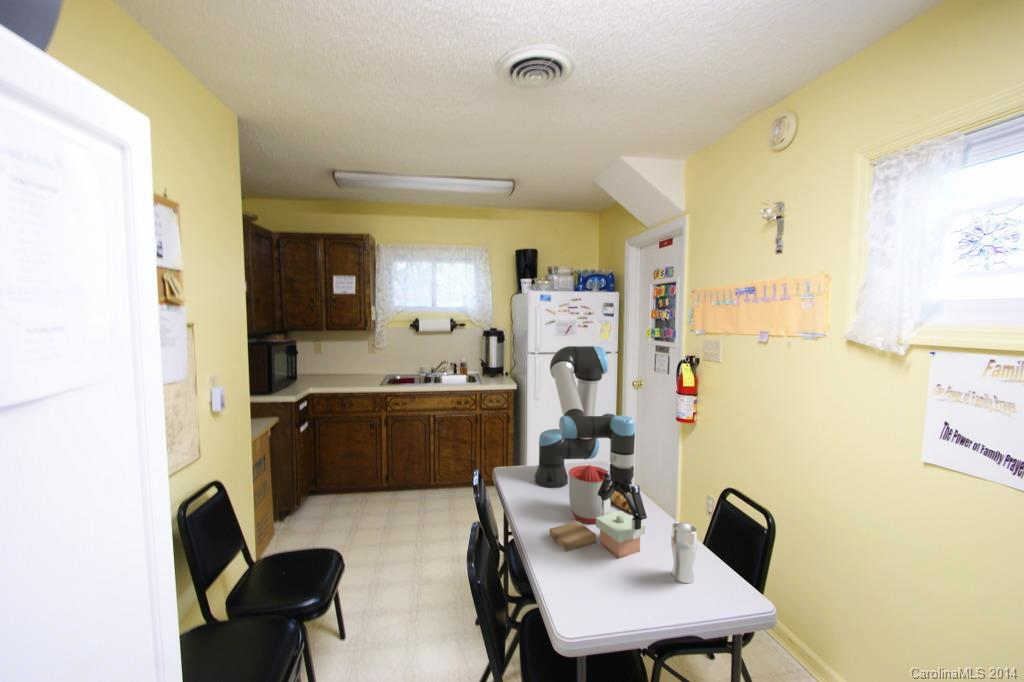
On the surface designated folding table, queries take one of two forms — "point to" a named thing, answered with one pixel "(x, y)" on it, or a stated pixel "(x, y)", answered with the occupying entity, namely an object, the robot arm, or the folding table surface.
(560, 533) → the wooden block
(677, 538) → the beer glass
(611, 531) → the lid
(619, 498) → the croissant
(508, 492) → the folding table surface
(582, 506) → the citrus juicer
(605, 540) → the open box
